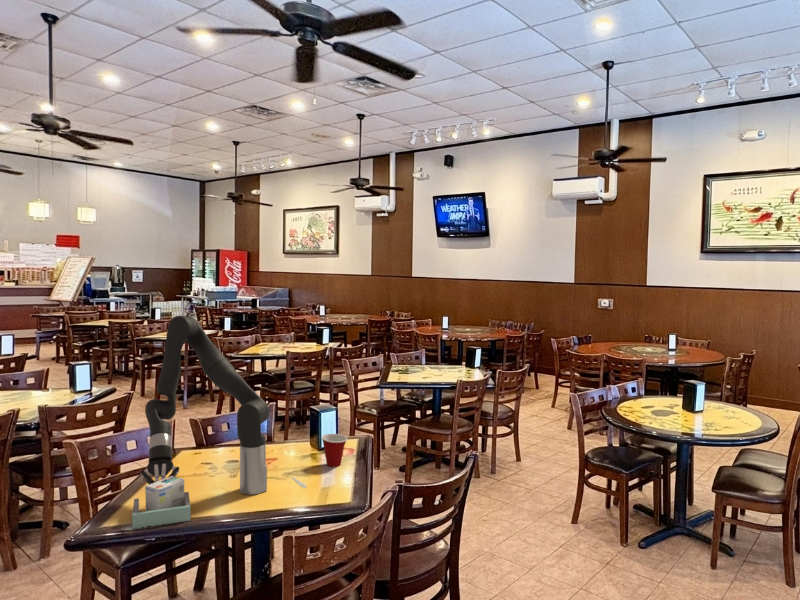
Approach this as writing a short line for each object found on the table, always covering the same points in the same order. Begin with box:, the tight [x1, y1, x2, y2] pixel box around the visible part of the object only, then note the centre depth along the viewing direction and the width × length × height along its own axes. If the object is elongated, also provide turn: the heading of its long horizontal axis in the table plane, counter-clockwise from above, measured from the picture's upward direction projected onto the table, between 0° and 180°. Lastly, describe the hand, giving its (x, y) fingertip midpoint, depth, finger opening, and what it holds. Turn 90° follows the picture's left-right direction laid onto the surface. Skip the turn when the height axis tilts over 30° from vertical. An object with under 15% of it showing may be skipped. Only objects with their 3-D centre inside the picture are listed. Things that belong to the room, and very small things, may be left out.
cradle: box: [131, 491, 192, 530], centre depth 183 cm, size 17×14×4 cm
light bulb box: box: [144, 476, 185, 511], centre depth 185 cm, size 11×7×11 cm, turn 151°
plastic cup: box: [321, 433, 348, 468], centre depth 235 cm, size 11×11×12 cm
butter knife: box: [290, 476, 307, 489], centre depth 221 cm, size 1×27×3 cm
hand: (159, 495), depth 188 cm, fingers closed
